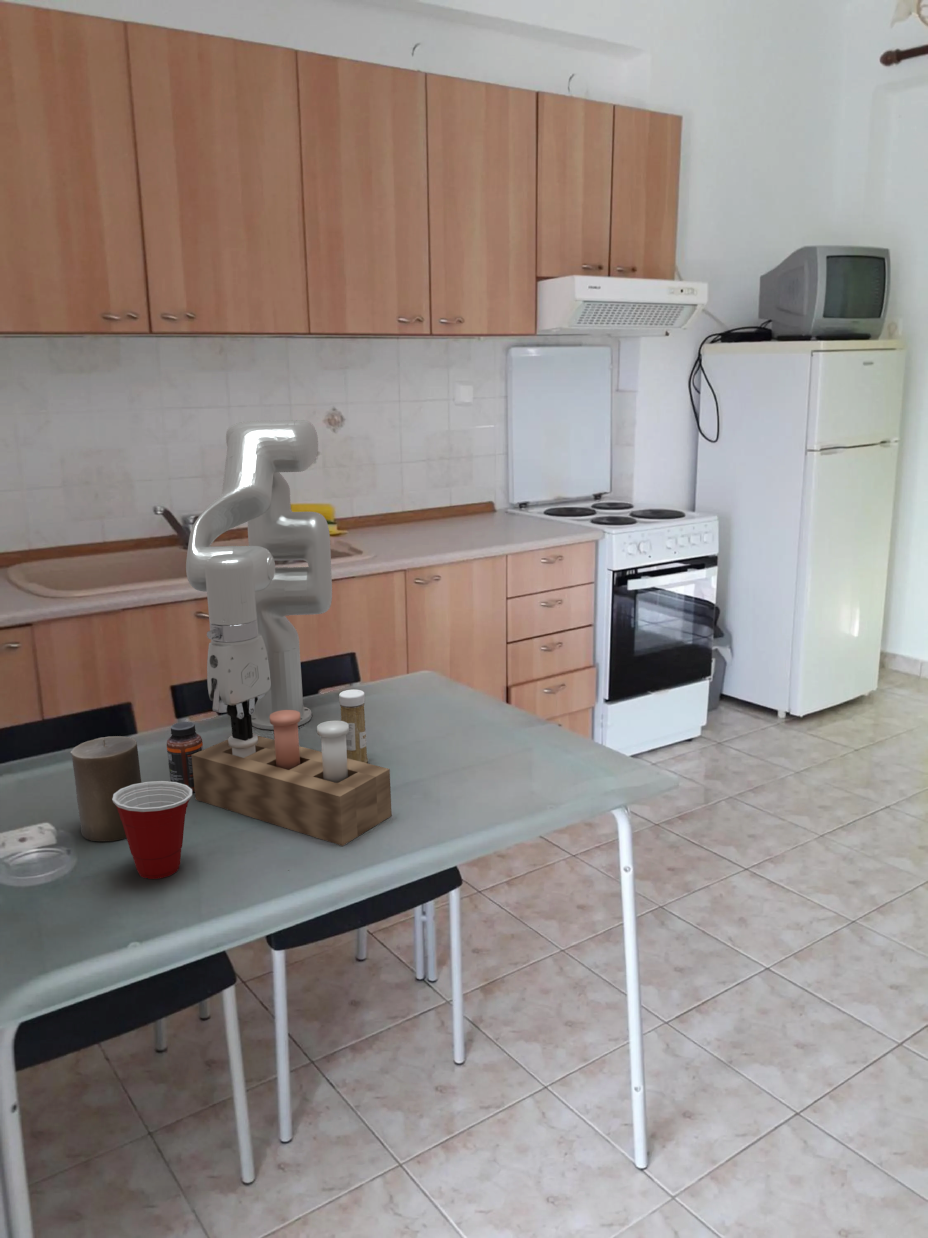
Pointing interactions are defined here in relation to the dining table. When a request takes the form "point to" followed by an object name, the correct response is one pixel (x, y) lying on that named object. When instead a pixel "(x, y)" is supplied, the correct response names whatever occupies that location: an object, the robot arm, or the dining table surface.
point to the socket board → (294, 791)
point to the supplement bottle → (183, 752)
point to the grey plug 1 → (243, 746)
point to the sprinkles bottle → (354, 723)
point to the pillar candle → (103, 783)
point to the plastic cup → (154, 824)
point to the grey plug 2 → (334, 750)
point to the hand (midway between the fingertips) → (242, 737)
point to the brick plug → (286, 738)
